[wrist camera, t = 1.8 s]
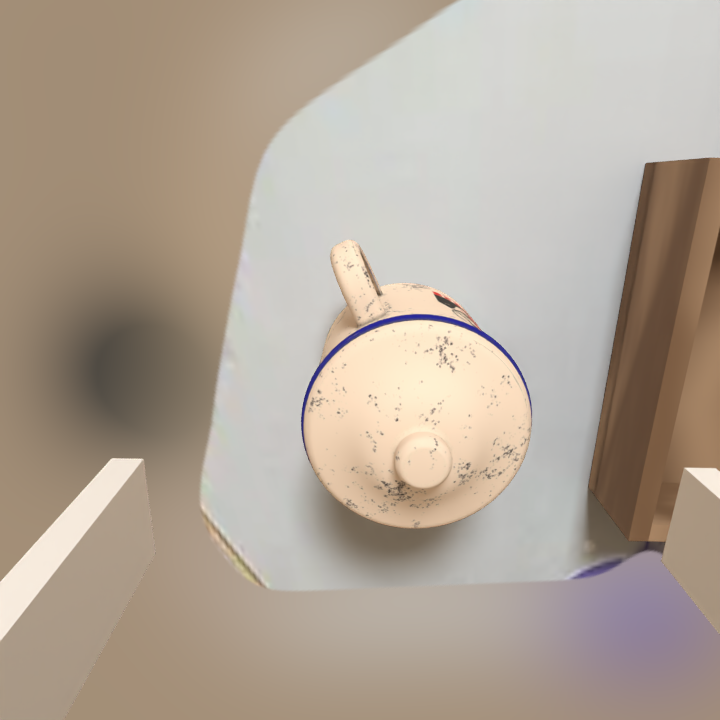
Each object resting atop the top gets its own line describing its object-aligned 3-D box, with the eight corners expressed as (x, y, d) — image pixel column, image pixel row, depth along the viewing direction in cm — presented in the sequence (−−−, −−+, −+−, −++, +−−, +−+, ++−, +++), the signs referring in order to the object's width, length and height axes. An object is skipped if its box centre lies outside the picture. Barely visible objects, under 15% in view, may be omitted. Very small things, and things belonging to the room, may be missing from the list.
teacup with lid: (508, 398, 29) (593, 526, 18) (360, 456, 31) (357, 609, 20) (428, 194, 26) (474, 199, 15) (266, 269, 27) (198, 325, 16)
